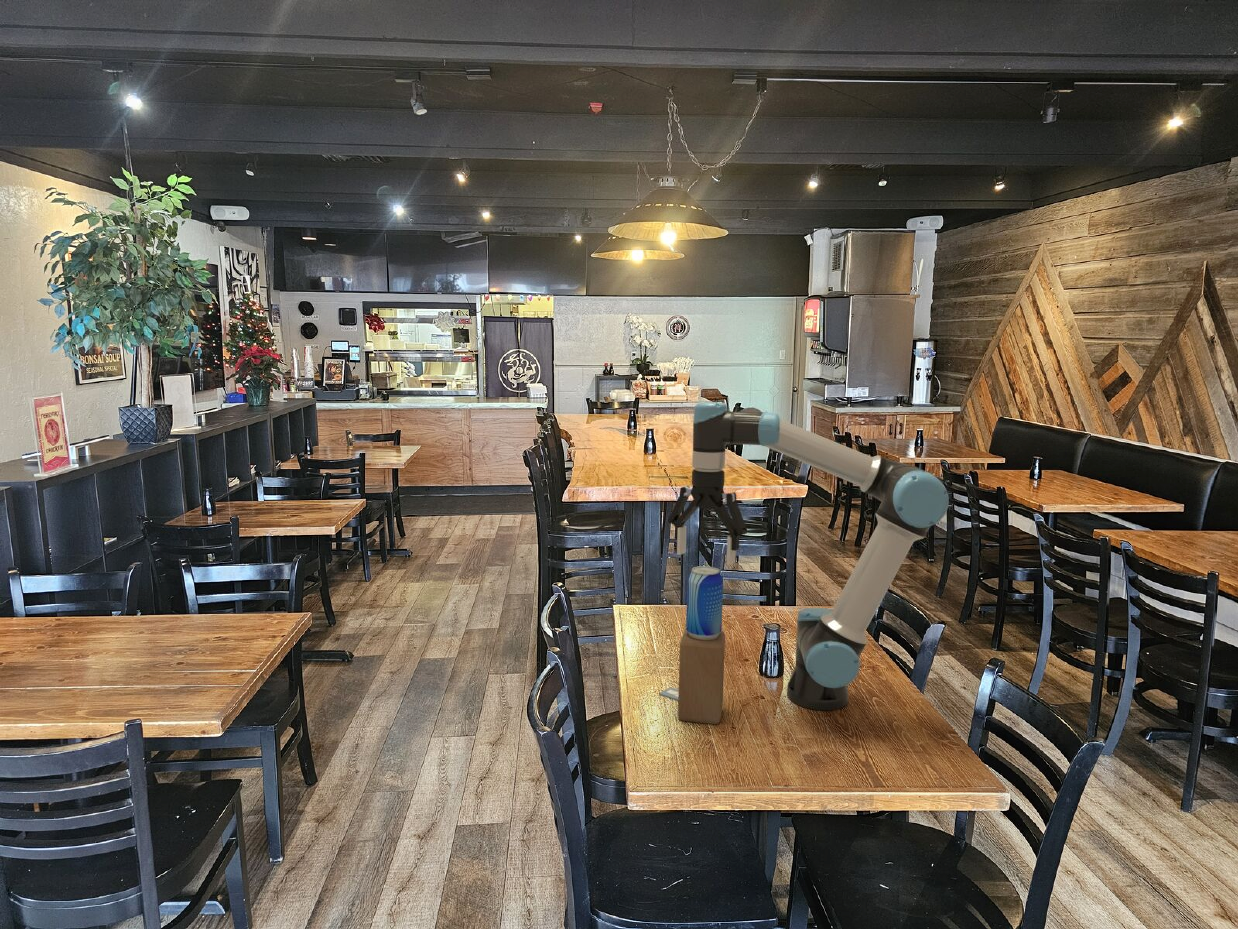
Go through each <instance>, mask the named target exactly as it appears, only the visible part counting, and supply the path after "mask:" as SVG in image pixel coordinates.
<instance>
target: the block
mask: <svg viewBox="0 0 1238 929" xmlns="http://www.w3.org/2000/svg"><path fill="white" fill-rule="evenodd" d="M725 634H726V633H725V632H724V631H722V630H721V633H720V634H719V635H718V637H717V638H715V639H712V640H699V639H695V638H692V637H691V636H690V635H689V633H688V632H687V630H686V628H685V629H684V631H683V634H682V636H681V640H680V641H679V660H678V661H679V662H678V690H679V696H678V701H677V702H678V704H677V717H678V720H680V721H685V722H691V723H692V722H693V723H704V724H712V725H713V724H714V725H717V724H719V723H720V722H721V718H722V711H723V705H724V700H723V699H724V679H725V678H724V676H725V653H726V652H725V650H726V648H725V647H726V635H725Z"/></svg>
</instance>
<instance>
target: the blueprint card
mask: <svg viewBox="0 0 1238 929" xmlns="http://www.w3.org/2000/svg"><path fill="white" fill-rule="evenodd" d="M658 694H659V696H662V697H664V698H669V699H670V698H671V699H670V700H673V699H674V701H676V700H677V702H678V696H679V688H675V687H671V686H669V687H668V688H666V689H664V690H662V691H660V692H659V693H658Z"/></svg>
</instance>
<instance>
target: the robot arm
mask: <svg viewBox="0 0 1238 929" xmlns="http://www.w3.org/2000/svg"><path fill="white" fill-rule="evenodd" d="M692 427H693V428H692V458H691V459H692V462H691V464H692V465H691V467H692V468H693V470H691V485H692V488H691V487H690V486H689V485H686V486H682V487H680V490H679V496H678V498H677V500H676V502H675V505H674V507H673V509H672V511H671V513H670V514H669V517H668V519H667V522H668V523H669V524H671V525H673V526H674V528H675V529H674V540H676V546H677V547H676V555H679V556H680V555H681V556H682V555H684V554H685V553H687V526H686V523H687V521H688V520H689V519H690V518H691V517H692V516H693V514H694V513H695V512H696V511H697V510H698V509H702V510H704V509H705V510H708V511H713V512H714V513H715V514H716V515H717V516H718V517H719V519H720V520H721V522H722V524H723V525H724V527H725V529H726V530H727V532H728V534H730V535H729V536H728V535H727V538H726V539H727V540H726V541H727V545H726V565H727V566H731V565H733V564H736V552H737V550H739V548H740V537H741V536H743V535H747V533H748V528H747V525H746V523H745V520H744V518H743V517H744V516H743V515H742V512H741V510H740V508H739V505H738V502H737V492H734V491H733V492H725V491H724V488H725V487H724V486H725V477H726V476H725V474H726V472H725V470H723V469H725V466H726V445H744V446H745V445H748V446H752V445H753V446H762V447H765V448H768V449H771V450H773V451H776V452H778V453H780V454H783V455H785V456H787V457H790V458H792V459H794V460H796V461H799V462H801V463H804V464H805V465H806V464H807V465H809V466H811V467H813V468H816V469H818V470H820V471H823V472H826V473H828V474H830V475H832V476H835V477H837V478H840V479H841V480H845V481H847V482H849V483H852V484H854V485H857V486H858V487H859V488H860V491H861V492H863V493H865V494H867V495H870V496H872V497H873V498H875V499H877V500H878V501H880V502H881V503H880V504H879V507H878V508H877V510H876V512H875V514H874V515H875V518H876V520H877V525H876V526H875V529H874V531H873V532H872V535H871V536H870V538H869V540H868V542H867V544H866V545H865V547H864V550H863V551H862V553H861V555H860V557H859V559H858V560H857V562H856V564H855V566H854V568H853V570H852V572H851V574H850V576H849V578H848V580H847V582H846V583H845V585H844V587H843V589H842V591H841V593H840V594H839V597H838V598H837V600H836V602H835V605H834V606H833V608H824V607H808V608H807V607H806V608H802V609H800V610H799V612H798V614H797V619H796V623H797V624H796V626H797V627H796V628H797V630H796V644H795V646H796V647H795V665H794V669H793V670H792V673H791V675H790V678H789V681H788V683H787V688H786V696H787V698H788V699H789V700H790V701H791V702H792V703H794V704H796V705H798V706H800V707H803V708H805V709H806V708H807V709H809V710H815V711H816V710H817V711H835V710H841V709H842V708H844V707H846V706H847V705H848V703H849V691H848V687H847V686H848V685H849V684H851V683H852V682H854V681H855V679H856V678H857V676H858V674H859V672H860V664H861V662H860V656H862V653H863V651H864V649H865V647H866V645H867V644H868V638H867V635H866V630H867V628H868V627H869V625H870V623H871V622H872V619H873V618H874V615H876V612H877V610H878V608H879V606H880V605H881V602H882V601H883V599H884V598H885V596H886V593H887V591H888V590H889V588H890V586H891V584H892V582H893V581H894V579H895V577H896V576H897V573H898V571H899V570H900V568H901V566H902V564H903V563H904V560H905V558H906V557H907V555H908V553H909V551H910V549H911V547H912V545H913V544H914V542H916V541H919V540H922V539H924V538H925V537H926V535H927V534H928V531H930V530H929V529H930V528H931V527H932V526H934V525H936V524H937V523H939V522H940V521H941V520H942V519H943V518H944V516H945V515H946V513H947V511H948V508H949V500H950V498H949V493H948V490H947V488H946V486H945V485H944V484H943V482H942V481H941V480H940V479H939V478H938V477H937V475H934V474H932V473H931V472H928V471H925V470H923V469H922V468H919V467H918V466H916V465H912V464H907V463H903V462H899V461H895V460H892V459H889V458H886V457H883V456H881V455H878V454H877V455H875V456H870V455H868V454H865V453H863V452H860V451H858V450H856V449H854V448H851V447H848V446H846V445H843V444H841V443H839V442H836V441H833V440H831V439H829V438H827V437H823V436H822V435H819V434H817V433H814V432H812V431H810V430H807V429H805V428H802V427H800V426H798V425H795V424H794V423H790V422H787V421H785V420H783V419H780V415H779V414H778V413H776V412H769V411H762V410H760V409H758V408H756V407H753V406H752V407H745V408H743V409H741V410H740V411H731V410H728V405H727V403H725V402H721V401H718V402H715V401H702V402H698V403H696V405H695V406H694V410H693V424H692ZM690 496H692V501H691V502H690V503H689V504H688V506H687V508H686V509H685V510H684V508H685V506H686V504H687V502H688V500H689V497H690ZM723 500H724V502H725V503H726V505H725V503H724V502H723ZM726 506H727V507H726ZM727 509H728V510H727ZM683 510H684V511H683ZM728 511H729V512H728Z"/></svg>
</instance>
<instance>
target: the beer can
mask: <svg viewBox="0 0 1238 929" xmlns="http://www.w3.org/2000/svg"><path fill="white" fill-rule="evenodd" d="M686 586H687V588H686V618H685V621H686V623H685V629H686V630H687V632H688V633H689V635H690V636H691V637H692V638H695V639H699V640H712V639H715V638H717V637H718V635H719V634H720V633H721V631H722V626H723V625H722V624H723V623H722V622H723V600H724V599H723V598H724V596H723V595H724V594H723V593H724V578H723V577H722V575H721V573H720V569H719V568H718V567H717V568H716V567H713V566H707V565H705V566H704V565H703V566H702V565H701V566H700V565H699V566H695V567H693V568H691V572H690V573H689V575H688V576H687V584H686Z"/></svg>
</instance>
